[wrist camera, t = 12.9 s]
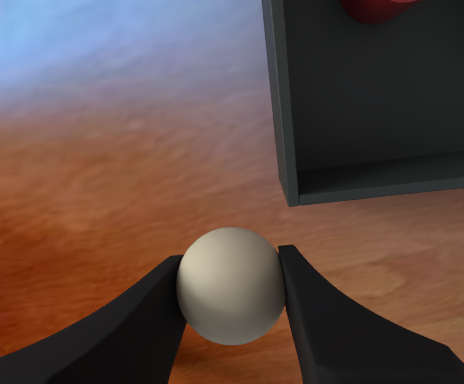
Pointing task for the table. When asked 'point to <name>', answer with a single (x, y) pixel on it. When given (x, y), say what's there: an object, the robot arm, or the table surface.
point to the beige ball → (231, 286)
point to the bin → (366, 100)
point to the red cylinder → (376, 9)
